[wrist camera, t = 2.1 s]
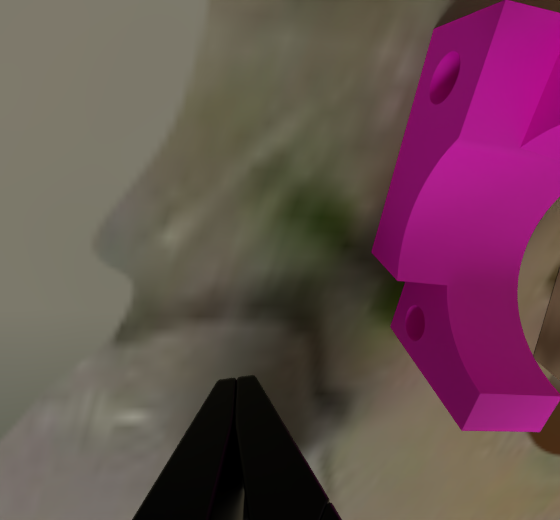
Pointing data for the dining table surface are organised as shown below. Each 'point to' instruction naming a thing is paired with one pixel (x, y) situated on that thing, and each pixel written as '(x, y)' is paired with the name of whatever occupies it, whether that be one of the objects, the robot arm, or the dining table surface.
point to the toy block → (476, 211)
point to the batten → (551, 335)
